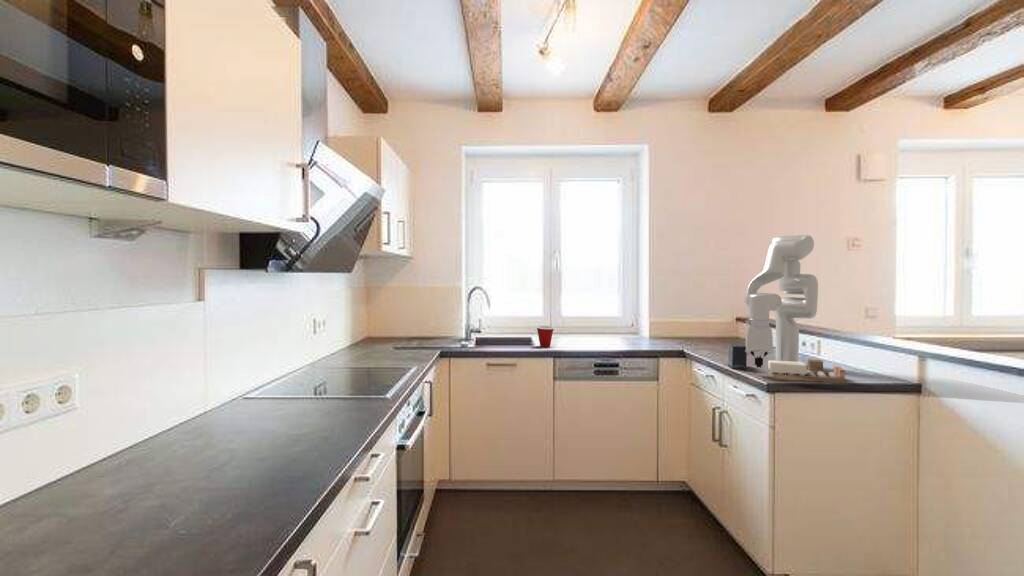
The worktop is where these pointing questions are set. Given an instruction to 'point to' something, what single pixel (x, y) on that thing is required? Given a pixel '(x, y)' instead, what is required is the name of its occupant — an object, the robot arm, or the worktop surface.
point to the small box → (737, 356)
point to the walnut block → (814, 365)
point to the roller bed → (815, 375)
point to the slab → (787, 367)
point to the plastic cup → (545, 335)
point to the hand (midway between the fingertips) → (758, 366)
